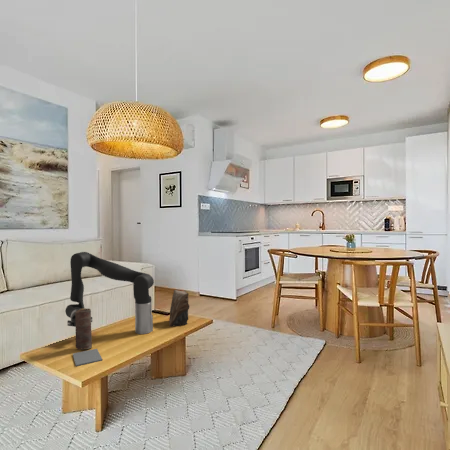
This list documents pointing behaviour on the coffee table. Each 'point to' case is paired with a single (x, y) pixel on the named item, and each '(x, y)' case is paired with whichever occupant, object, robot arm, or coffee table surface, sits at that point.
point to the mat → (86, 357)
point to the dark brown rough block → (179, 309)
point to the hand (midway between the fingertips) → (82, 325)
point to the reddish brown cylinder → (83, 329)
